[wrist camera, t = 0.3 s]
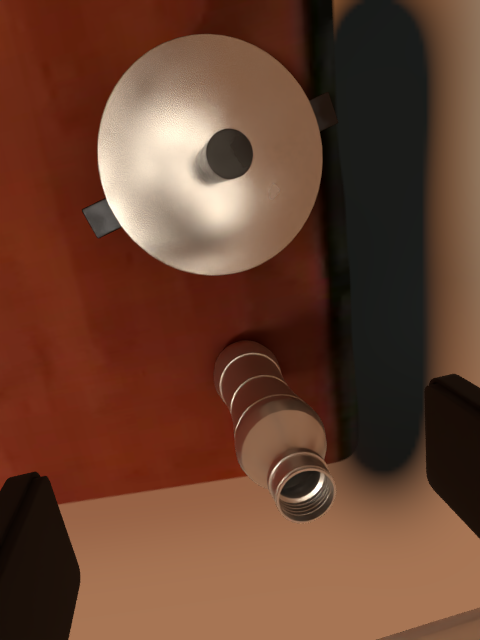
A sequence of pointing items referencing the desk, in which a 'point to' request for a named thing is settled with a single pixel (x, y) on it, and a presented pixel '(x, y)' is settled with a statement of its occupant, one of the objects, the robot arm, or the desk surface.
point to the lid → (209, 154)
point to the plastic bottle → (275, 432)
